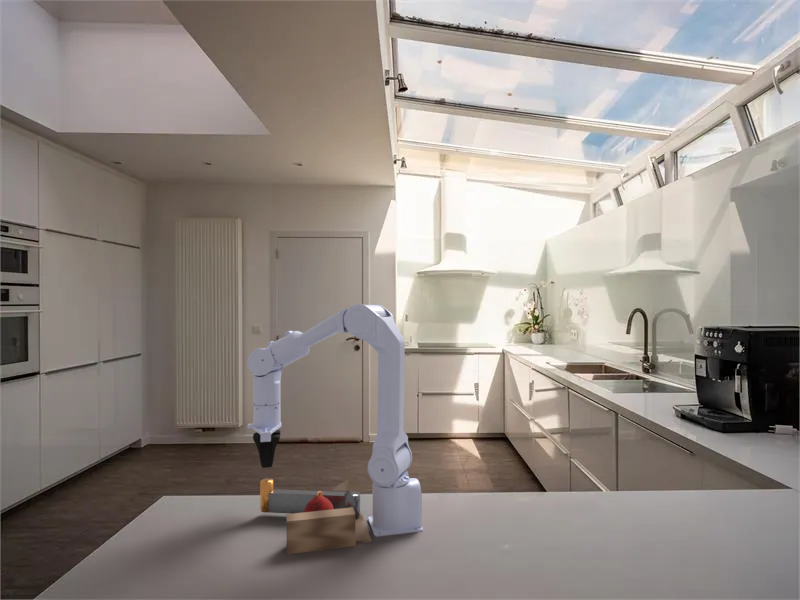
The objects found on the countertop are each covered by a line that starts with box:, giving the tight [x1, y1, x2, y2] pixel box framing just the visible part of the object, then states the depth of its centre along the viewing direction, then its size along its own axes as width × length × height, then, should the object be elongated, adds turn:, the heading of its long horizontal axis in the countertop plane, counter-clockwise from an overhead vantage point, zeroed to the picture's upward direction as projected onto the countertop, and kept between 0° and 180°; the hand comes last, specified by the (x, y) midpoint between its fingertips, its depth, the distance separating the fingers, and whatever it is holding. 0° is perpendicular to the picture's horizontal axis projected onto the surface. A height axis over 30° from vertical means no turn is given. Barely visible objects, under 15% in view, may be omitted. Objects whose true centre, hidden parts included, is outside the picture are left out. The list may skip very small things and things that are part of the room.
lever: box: [259, 477, 361, 517], centre depth 98 cm, size 21×3×6 cm, turn 84°
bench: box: [286, 507, 372, 555], centre depth 91 cm, size 15×13×6 cm
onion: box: [304, 490, 334, 512], centre depth 91 cm, size 6×6×8 cm
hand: (266, 466), depth 103 cm, fingers closed
